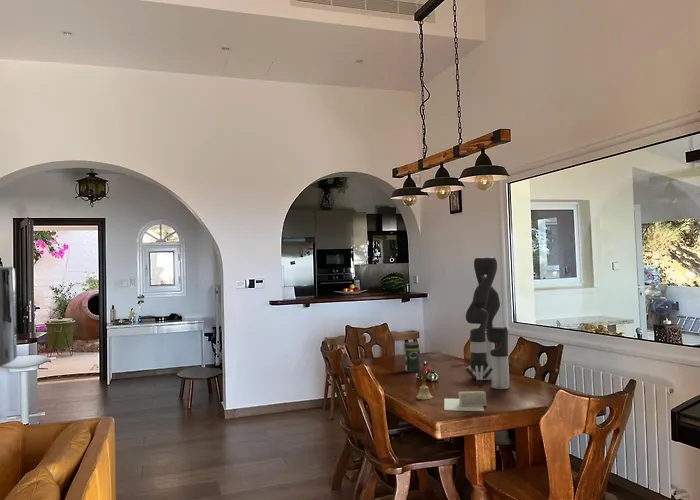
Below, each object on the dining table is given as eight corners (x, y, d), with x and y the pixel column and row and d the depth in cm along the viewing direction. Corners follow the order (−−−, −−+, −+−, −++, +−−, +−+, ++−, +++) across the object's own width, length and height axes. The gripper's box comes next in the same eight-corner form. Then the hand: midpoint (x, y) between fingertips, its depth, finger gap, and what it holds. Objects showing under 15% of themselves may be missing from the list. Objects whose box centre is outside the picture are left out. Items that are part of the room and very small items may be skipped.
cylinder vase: (469, 377, 309) (467, 335, 310) (487, 375, 313) (485, 333, 314) (480, 381, 297) (478, 337, 298) (499, 379, 301) (497, 336, 302)
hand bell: (416, 395, 270) (415, 364, 270) (432, 395, 269) (431, 364, 269) (416, 399, 261) (415, 367, 262) (433, 399, 260) (432, 367, 261)
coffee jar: (418, 369, 336) (417, 340, 337) (421, 372, 328) (420, 342, 329) (403, 370, 335) (402, 341, 336) (406, 372, 327) (405, 343, 328)
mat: (444, 399, 260) (444, 398, 260) (481, 399, 257) (481, 399, 257) (444, 410, 241) (444, 409, 241) (484, 411, 237) (484, 410, 237)
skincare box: (483, 390, 249) (458, 391, 249) (486, 392, 245) (460, 393, 245) (484, 404, 249) (458, 404, 249) (486, 406, 244) (460, 406, 244)
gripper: (492, 349, 251) (493, 385, 250) (464, 349, 253) (465, 385, 253) (493, 352, 243) (494, 389, 243) (464, 352, 246) (466, 389, 245)
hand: (479, 387), depth 248 cm, fingers closed
